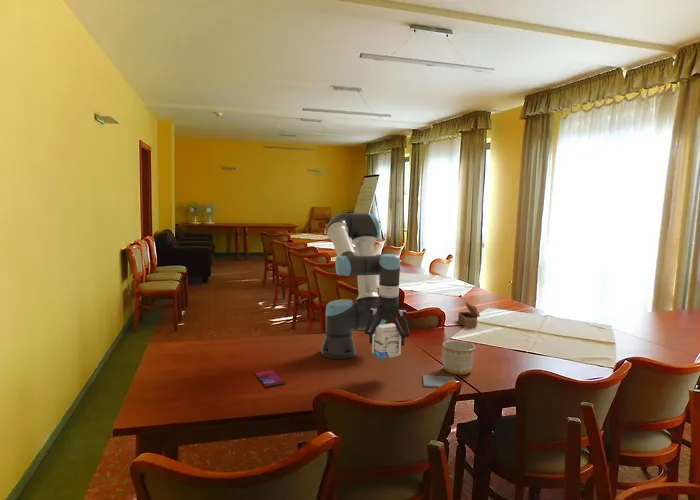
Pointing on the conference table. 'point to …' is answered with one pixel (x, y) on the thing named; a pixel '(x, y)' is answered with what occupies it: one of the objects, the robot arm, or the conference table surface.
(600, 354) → the conference table surface
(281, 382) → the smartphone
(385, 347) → the ink box
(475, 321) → the box
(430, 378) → the mat
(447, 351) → the planter
